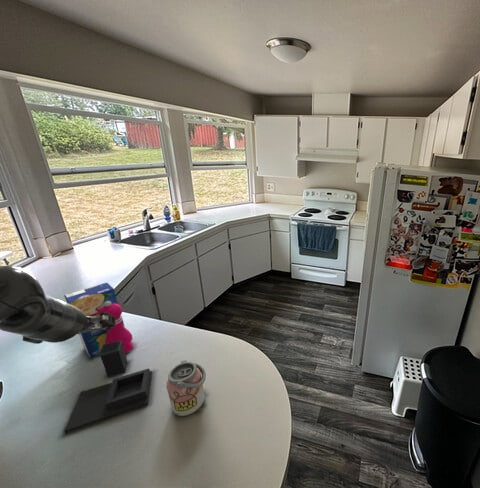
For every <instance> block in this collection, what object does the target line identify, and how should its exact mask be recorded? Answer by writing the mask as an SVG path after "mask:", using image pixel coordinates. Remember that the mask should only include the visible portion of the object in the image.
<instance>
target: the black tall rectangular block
mask: <svg viewBox="0 0 480 488" xmlns="http://www.w3.org/2000/svg"><path fill="white" fill-rule="evenodd" d="M98 357H100V360H101V362H102V365H103V368H104V370H105V373H106V376H107V378H110V377H113V376H117V375H121V374H125V373H126V372H127V367H128V365H129V362H128V359H127V354H125V351H124V348H123V345H122V340H121V341H117V342H113V343H109V344H105V345H103V347H102V349H101V352H100V354H99V355H98Z"/></svg>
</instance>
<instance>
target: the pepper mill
mask: <svg viewBox="0 0 480 488" xmlns="http://www.w3.org/2000/svg"><path fill="white" fill-rule="evenodd" d="M104 305H105V306H103V307H102V308H101V309H100V310H99V312H98V316H99V317H100V313H102V312H107V313H109V314H111V315H113V316H115V326H114V327H112V329H110V331H107V336H106V339H105V344H109V343H113V342H117V341H121V340H122V345H123V348H124V351H125V355H127V354H129V353H130V352H131V351H132V350H133V349H134V344H133V341H132V340H133V335H132V333H131V331H130V330H129V329H127V328H126V326H125V325H124V326H125V327H124V326H123V324H122V320H123V321H124V318H123V308H122V306H121V305H120V304H119V303H118V304H111V302H110V301H106V302H105V303H104Z"/></svg>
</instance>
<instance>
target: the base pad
mask: <svg viewBox="0 0 480 488" xmlns="http://www.w3.org/2000/svg"><path fill="white" fill-rule="evenodd" d="M152 379H153V371H152V370H150V368H146V369H141V370H139V371H136V372H131V373H129V374H125V375H122V376H119V377H115V378H113V379H112V381H111V382H109V383H106V384H102V385H99V386H95V387H92V388H89V389H85V390H82V391H80V393H79V395H78V398H77V400H76V402H75V405H74V407H73V410H72V411H71V414H70V416H69V419H68V421H67V423H66V425H65V428H64V430H63V432H64V434H69V433H71V432H74V431H77V430H81V429H83V428H85V427H88V426H92V425H95V424H97V423H100V422H103V421H106V420H108V419H113V418H114V417H117V416H120V415H123V414H126V413H129V412H131V411H135V410H137V409H140V408H143V407H146V406H148V405H149V398H150V393H151V386H152Z"/></svg>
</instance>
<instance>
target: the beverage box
mask: <svg viewBox="0 0 480 488" xmlns="http://www.w3.org/2000/svg"><path fill="white" fill-rule="evenodd" d="M63 297H64V299H65V302H66V303H68V304H70V305H72V306H74V307H76V308H78V309H80V310H81V311H82V312H83V313H84V314H85V316H96V317H99V316H98V312H99V310H100V309H101V308H102V307H103V306H105V305H104V303H105V302H106V301H110V302H111V304H118V305H119V302H118V299H117V296H116V292H115V289H114V287H112V285H111V284H109V282H104V283H101V284H97V285H94V286H91V287H87V288H84V289H80V290H76V291H74V292H71V293H70V292H69V293H67V294H64V295H63ZM122 324H123V326H124V327H125V328H126V326H125V323H124V319H123V320H122ZM98 326H101V325H100V323H98ZM90 328H91V326H90V327H89V328H87V329H90ZM78 336H79V338H80V341H81V344H82V346H83V350H84V351H85V353H86V355H87V356H88V357H89V359H90V360H91V359H94V358H96V357H99V354H100V352H101V349H102V347H103V345H105V339H106V336H107V332H105V331H103V330H96V331H94V332H87V333H80V334H78Z"/></svg>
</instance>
